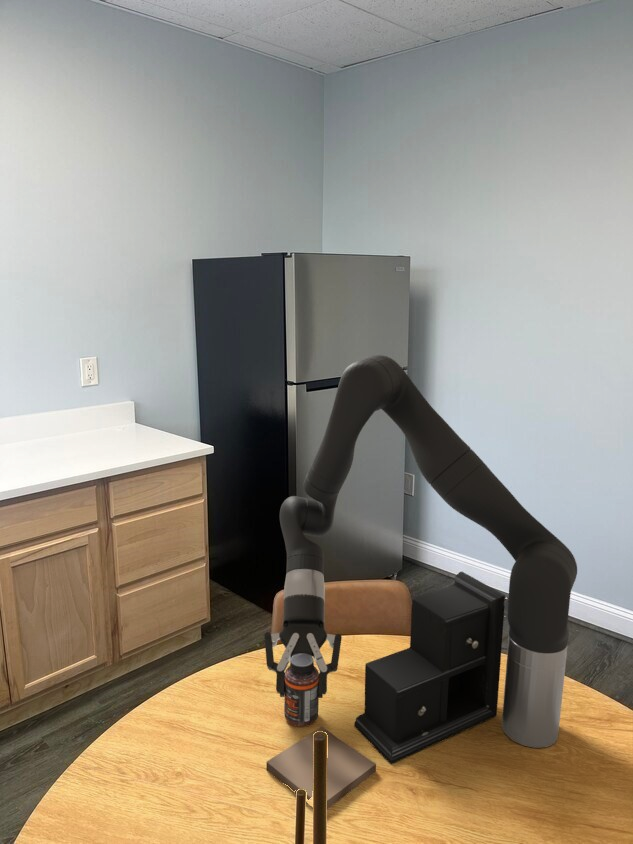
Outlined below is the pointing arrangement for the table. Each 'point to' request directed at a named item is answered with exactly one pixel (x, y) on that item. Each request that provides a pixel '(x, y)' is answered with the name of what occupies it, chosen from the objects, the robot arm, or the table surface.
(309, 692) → the supplement bottle
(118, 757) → the table surface
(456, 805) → the table surface
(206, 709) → the table surface
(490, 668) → the black drawer cabinet
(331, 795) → the brown flat square block
